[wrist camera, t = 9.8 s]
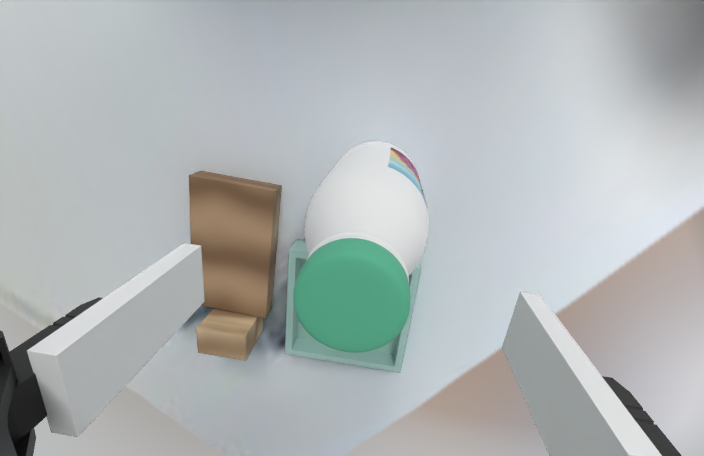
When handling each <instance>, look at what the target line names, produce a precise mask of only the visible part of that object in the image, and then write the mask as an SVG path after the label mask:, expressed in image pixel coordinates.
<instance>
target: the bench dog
mask: <svg viewBox="0 0 704 456" xmlns="http://www.w3.org/2000/svg"><path fill="white" fill-rule="evenodd" d="M262 331H263V318H262V317H257V316H252V315H247V314H242V313H237V312H232V311H227V310H222V309H217V308H213V309H212V310H211V311H210V313H209V314H208V315H207V316H206V317H205V319H204V320H203V321H202V322H201V323H200V324H199V326H198V327H197V328H196V333H197V345H198V353H204V354H210V355H216V356H222V357H228V358H233V359H239V360H245V361H246V359H247V358H248V356H249V354H250V352H251V350H252V349H253V347H254V345H255V343H256V341H257V340H258V338H259V336H260V334H261V332H262Z"/></svg>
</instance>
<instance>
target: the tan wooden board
mask: <svg viewBox="0 0 704 456" xmlns="http://www.w3.org/2000/svg"><path fill="white" fill-rule="evenodd" d="M189 191H190V229H191V244H193V245H200V246H201V252H202V268H203V285H204V303H203V304H202V306H207V307H212V308H217V309H222V310H227V311H232V312H237V313H242V314H247V315H252V316H257V317H262V318H266V317H267V315H268V313H269V312H270V310H271V308H272V299H273V287H274V274H275V261H276V249H277V236H278V223H279V211H280V198H281V185H275V184H270V183H265V182H259V181H254V180H248V179H243V178H237V177H232V176H226V175H221V174H215V173H210V172H204V171H199V172H197V173H194V174H192V175H189Z"/></svg>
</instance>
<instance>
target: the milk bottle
mask: <svg viewBox="0 0 704 456" xmlns="http://www.w3.org/2000/svg"><path fill="white" fill-rule="evenodd" d="M304 234H305V242H306V247H307V250H308V253H309V256H308V258H307V260H306V262H305V264H304V265H303V267H302V268H301V270H300V272H299V275H298V277H297V280H296V282H295V286H294V294H293V302H294V309H295V312H296V315H297V318H298V320H299V322H300V323H301V325H302V326H303V328H304V329H305V330H306V331H307V332H308V333H309V334H310V335H311V336H312V337H313V338H314V339H316V340H317V341H318V342H320V343H322V344H323V345H325V346H328V347H330V348H332V349H336V350H339V351H344V352H353V353H357V352H367V351H372V350H375V349H378V348H380V347H383V346H385V345H386V344H388V343H389V342H391V341H392V340H393V339H394V338H396V337H397V335H398V334H399V333H400V332H401V330H402V329H403V327H404V325H405V323H406V321H407V318H408V315H409V312H410V287H409V275H410V274H411V273H412V272H413V270H414V269H415V268H416V266H417V265H418V263H419V262H420V260H421V258H422V256H423V254H424V251H425V248H426V245H427V241H428V234H429V217H428V210H427V204H426V200H425V197H424V193H423V189H422V186H421V182H420V179H419V176H418V173H417V170H416V168H415V166H414V164H413V162H412V160H411V159H410V158H409V156H408V155H407V154H406V153H405V152H404V151H403V150H401V149H400V148H398V147H397V146H395V145H392V144H390V143H387V142H381V141H370V142H365V143H362V144H359V145H357V146H355V147H353V148H352V149H350V150H349V151H348V152H347V153H345V154H344V155H343V156H342V157H341V159H340V160H339V161H338V162H337V163H336V165H335V166H334V167H333V168H332V169H331V171H330V172H329V173H328V174H327V176H326V177H325V178H324V180H323V181H322V182H321V184H320V185H319V187H318V188H317V190H316V191H315V193H314V195H313V197H312V199H311V201H310V203H309V206H308V209H307V213H306V217H305V226H304Z"/></svg>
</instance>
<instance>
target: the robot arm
mask: <svg viewBox="0 0 704 456" xmlns="http://www.w3.org/2000/svg"><path fill="white" fill-rule="evenodd" d="M203 303H204V285H203V268H202V252H201V246H200V245H193V244H187V243H183V244H182V245H180V246H179V247H177V248H176V249H174V250H173V251H171V252H170V253H169V254H167V255H166V256H164V257H163V258H161V259H160V260H158V261H157V262H155V263H154V264H152V265H151V266H150V267H148V268H147V269H145V270H144V271H142V272H141V273H139V274H138V275H136V276H135V277H133V278H132V279H131V280H129V281H128V282H126V283H125V284H123V285H122V286H120V287H119V288H117V289H116V290H115V291H113V292H112V293H110V294H109V295H107V296H106V297H104V298H97V299H94V300H92V301H89V302H87V303H84V304H82V305H80V306H78V307H77V308H75V309H74V310H72V311H71V312H69V313H68V314H66V316H65V317H62V318H60V319H59V320H57V321H56V322H54V323H53V325H50V326H48V327H47V328H45V329H44V330H42V331H40V332H39V333H37V334H36V335H34V336H33V337H31V338H30V339H28V340H27V341H25V342H24V343H22V344H21V345H19V346H18V347H16V348H15V349H13V350H12V351H10V352H9V350H8V347H7V344H6V340H5V337H4V334H3V332H2V331H0V456H33V452H34V446H35V440H36V435H35V430H34V427H35V426H36V425H37V424H38V423H39V422H41V421H42V420H43V419H44V418H45V417H46V416H47V420H48V423H49V426H50V430H51V432H53V433H58V434H63V435H69V436H74V437H79V435H80V434H81V433H82V432H83V431H84V430H85V429H86V428H87V427H88V426H89V425H90V424H91V422H92V421H93V420H94V419H95V418H96V417H97V416H98V415H99V414H100V413H101V412H102V411H103V410H104V408H106V406H107V405H108V404H109V403H110V402H111V401H112V400H113V399H114V398H115V397H116V396H117V395H118V394H119V393H120V391H121V390H122V389H123V388H124V387H125V386H126V385H127V384H128V383H129V382H130V381H131V380H132V379H133V378H134V376H135V375H136V374H137V373H138V372H139V371H140V370H141V369H142V368H143V367H144V366H145V365H146V364H147V363H148V361H149V360H150V359H151V358H152V357H153V356H154V355H155V354H156V353H157V352H158V351H159V350H160V349H161V348H162V346H163V345H164V344H165V343H166V342H167V341H168V340H169V339H170V338H171V337H172V336H173V335H174V334H175V333H176V331H177V330H178V329H179V328H180V327H181V326H182V325H183V324H184V323H185V322H186V321H187V320H188V319H189V318H190V316H191V315H192V314H193V313H194V312H195V311H196V310H197V309H198V308H199V307H200V306H201V305H202V304H203ZM502 349H503V351H504V353H505V356H506V358H507V361H508V363H509V365H510V367H511V369H512V372H513V374H514V376H515V379H516V381H517V383H518V385H519V388H520V390H521V392H522V395H523V397H524V399H525V401H526V403H527V405H528V408H529V410H530V413H531V415H532V417H533V419H534V422H535V424H536V426H537V428H538V431H539V433H540V435H541V438H542V439H543V442H544V444H545V446H546V449H547V451H548V453H549V456H681V454H680V453H679V452H678V451H677V450H676V448H675V447H674V446H673V445H672V443H671V442H670V441H669V440H668V439H667V437H666V436H665V435H664V434H663V433H662V431H661V430H660V429H659V428H658V426H657V425H654V423H653V422H654V421H653V420H652V419H651V418H650V416H649V415H648V414H647V413H646V411H643V408H642V406H641V405H640V404H639V403H638V402H637V400H636V399H635V398H634V397H633V395H632V394H631V393H630V392H629V391H628V390H626V389H625V388H624V387H623V386H621V385H620V384H619V383H618V382H617V381H615V380H614V379H613V378H610V377H603V376H601V375H600V373H599V372H598V371H597V369H596V368H595V367H594V366H593V364H592V363H591V361H590V360H589V359H588V358H587V356H586V355H585V354H584V352H583V351H582V350H581V348H580V347H579V346H578V344H577V343H576V342H575V340H574V339H573V338H572V336H571V335H570V334H569V332H568V331H567V330H566V328H565V327H564V326H563V324H562V323H561V322H560V320H559V319H558V318H557V317H556V315H555V314H554V313H553V311H552V310H551V309H550V307H549V306H548V305H547V303H546V302H545V301H544V299H543V298H542V297H541V295H538V294H531V293H524V292H520V294H519V297H518V300H517V303H516V306H515V309H514V312H513V316H512V319H511V322H510V325H509V328H508V331H507V334H506V337H505V340H504V343H503V346H502Z"/></svg>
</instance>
